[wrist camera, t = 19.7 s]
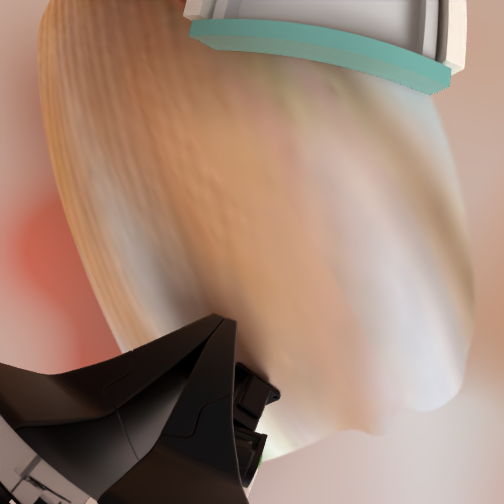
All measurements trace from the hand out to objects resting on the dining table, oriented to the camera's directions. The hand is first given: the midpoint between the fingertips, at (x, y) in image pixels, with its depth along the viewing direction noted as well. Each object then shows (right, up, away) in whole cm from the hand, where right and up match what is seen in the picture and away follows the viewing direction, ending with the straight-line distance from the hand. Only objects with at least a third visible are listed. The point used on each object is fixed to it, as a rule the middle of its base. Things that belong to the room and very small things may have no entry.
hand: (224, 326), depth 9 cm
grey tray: (+7, +22, +2) cm, 23 cm away
